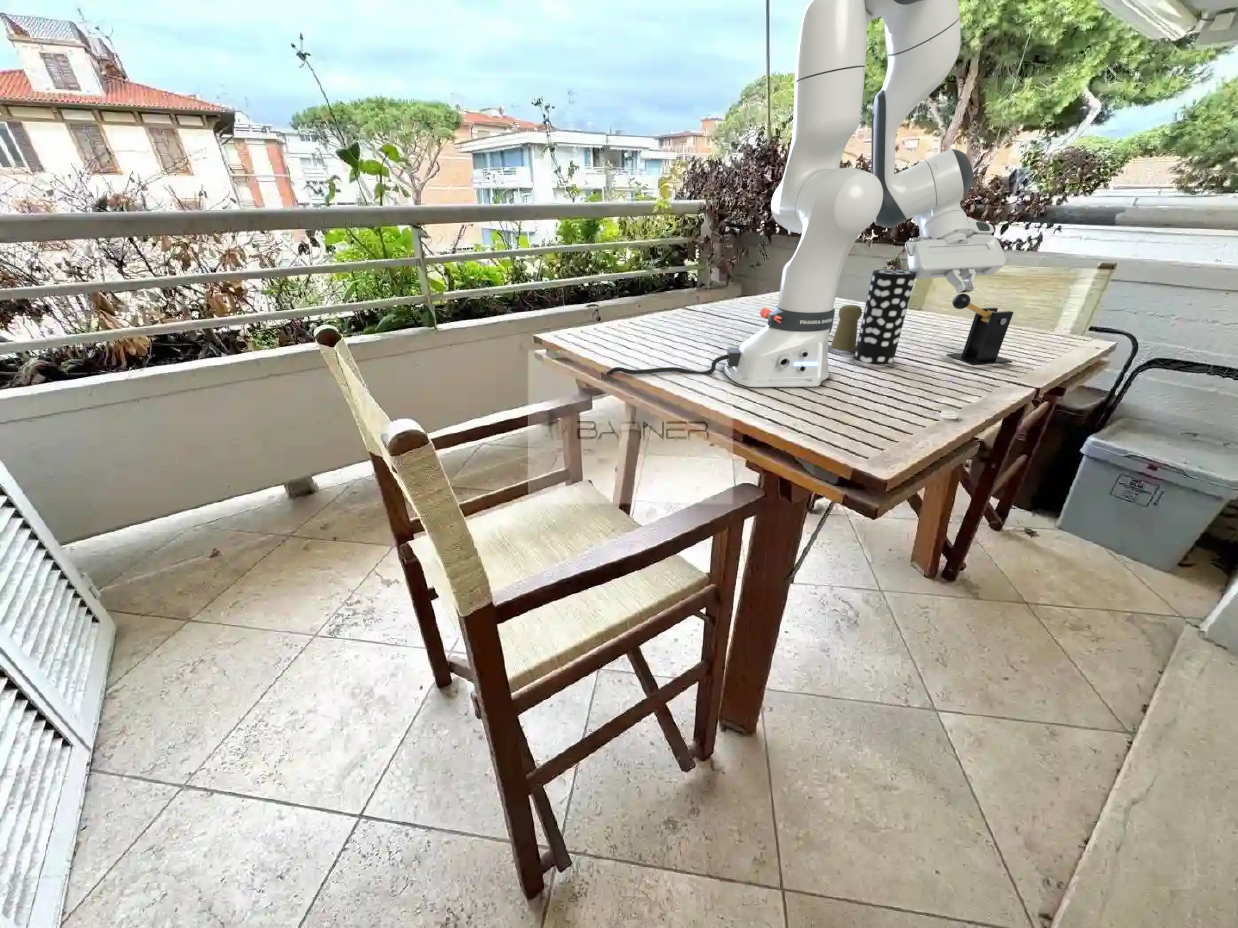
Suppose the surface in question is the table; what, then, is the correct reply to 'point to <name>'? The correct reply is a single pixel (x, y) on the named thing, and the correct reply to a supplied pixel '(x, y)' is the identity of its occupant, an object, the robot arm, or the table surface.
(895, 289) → the white-spotted black cylinder
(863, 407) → the table surface
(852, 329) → the cork
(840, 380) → the table surface
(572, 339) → the table surface
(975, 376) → the table surface
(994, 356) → the bracket
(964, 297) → the latch lever
